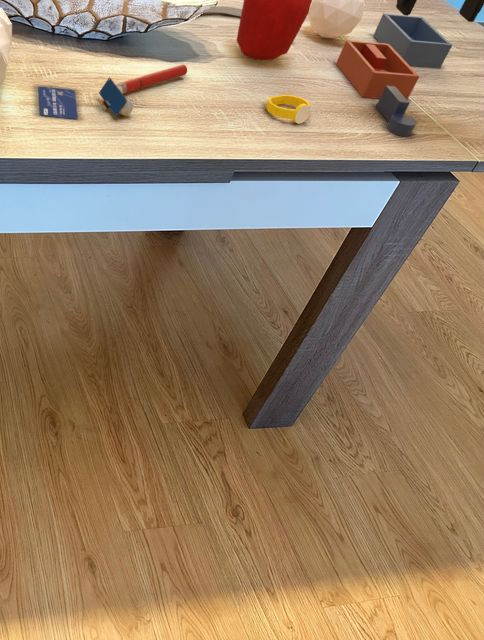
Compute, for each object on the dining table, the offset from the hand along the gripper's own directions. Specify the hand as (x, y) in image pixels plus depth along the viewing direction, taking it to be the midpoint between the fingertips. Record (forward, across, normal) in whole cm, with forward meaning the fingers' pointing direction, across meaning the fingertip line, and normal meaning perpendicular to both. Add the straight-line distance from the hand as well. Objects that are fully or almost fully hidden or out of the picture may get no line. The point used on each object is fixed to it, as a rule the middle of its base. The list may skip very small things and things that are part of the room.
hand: (434, 14), depth 104 cm
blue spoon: (+15, 0, -3) cm, 15 cm away
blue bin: (+15, +14, +24) cm, 32 cm away
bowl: (+11, -64, -6) cm, 65 cm away
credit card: (+15, -52, -5) cm, 54 cm away
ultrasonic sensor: (+16, -45, -6) cm, 48 cm away
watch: (+14, -18, 0) cm, 23 cm away
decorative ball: (+15, -1, +27) cm, 31 cm away
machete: (+16, -18, +29) cm, 38 cm away
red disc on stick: (+14, +2, +10) cm, 18 cm away
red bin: (+15, +2, +10) cm, 18 cm away
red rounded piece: (+15, -16, +17) cm, 27 cm away
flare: (+14, -37, +1) cm, 40 cm away
